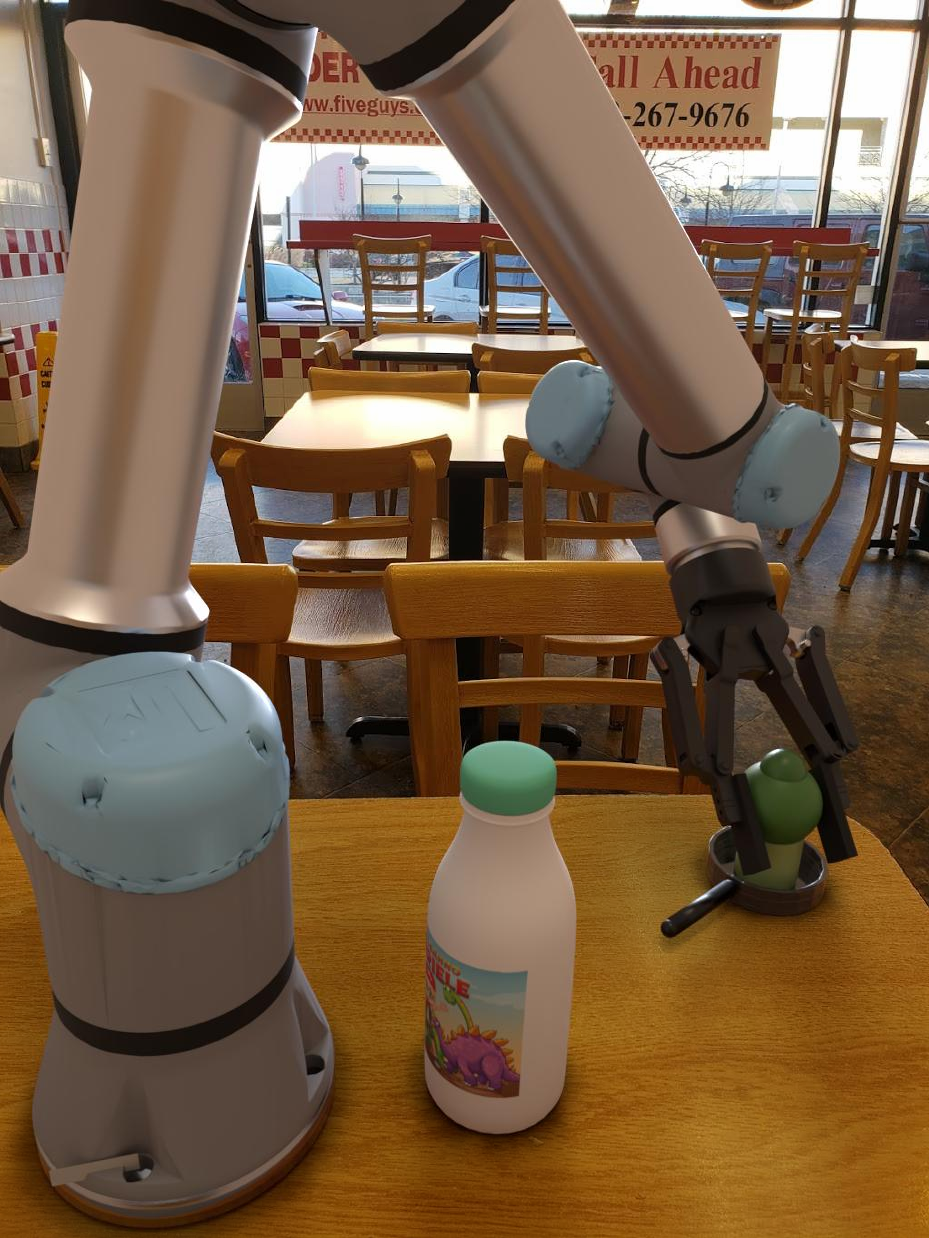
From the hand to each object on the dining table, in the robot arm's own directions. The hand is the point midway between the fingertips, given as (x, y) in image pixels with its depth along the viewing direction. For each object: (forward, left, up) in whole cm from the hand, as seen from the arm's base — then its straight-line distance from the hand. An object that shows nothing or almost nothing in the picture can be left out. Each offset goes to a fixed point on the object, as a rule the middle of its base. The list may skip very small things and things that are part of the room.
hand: (800, 865), depth 64 cm
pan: (-3, +2, -4) cm, 5 cm away
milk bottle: (-3, -26, -4) cm, 26 cm away
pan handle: (-3, -6, -4) cm, 8 cm away
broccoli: (-3, +2, -3) cm, 5 cm away
